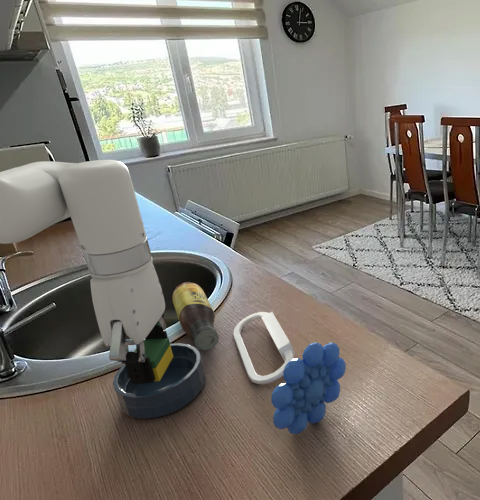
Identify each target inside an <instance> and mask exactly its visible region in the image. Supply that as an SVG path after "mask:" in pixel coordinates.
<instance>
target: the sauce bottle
mask: <svg viewBox="0 0 480 500" xmlns="http://www.w3.org/2000/svg"><path fill="white" fill-rule="evenodd" d="M171 298H172V304H173V307H174V309H175V313H176V316H177V318H178V322H179V324H180V326H181V328H182V330H183V332H184V333H185V334H186V335H187V336H189V337H192V341H193V345H194V347H195V348H196V349H197V350H200V351H203V352H204V351H205V352H206V351H209V350H212V349H214V348H215V347H216V345H218V343H219V333H218V332H217V330H216V328H215V327H214V323H215V319H216V314H215V311H214V309H213V307H212V305H211V303H210V301H209V298H208V297H207V295H206V293H205V292H204V289H203V288H202V287H201V286H200V285H199V284H197V283H195V282H190V281H186V282H183V283H181V284H179V285H177V286H176V287H175V289H174V290H173V293H172V295H171Z"/></svg>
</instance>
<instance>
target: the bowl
mask: <svg viewBox="0 0 480 500" xmlns="http://www.w3.org/2000/svg"><path fill="white" fill-rule="evenodd" d="M170 346H171V350H172V353H173V358H172V360H171V362H170V364H169V365H168V367H167V369H166V371H165V372H164V374H163V376H162V378H161V380H160V381H154V382H153V383H142V384H132V383H131V380H130V377H129V374H128V371H127V368H126V365H125V364H122V365H121V366H120V368H119V369H118V370H117V372H116V373H115V374H114V377H113V380H112V387H113V389H114V391H115V394H116V397H117V399H118V401H119V404H120V408H121V409H122V412H123V413H124V414H126V415H128V416H129V417H132V418H136V419H155V418H156V419H157V418H161V417H165V416H167V415H170V414H173V413H175V412H177V411H179V410H180V409H182V408H184V407H185V406H187V405H188V404H189V403H191V402H192V401H193V400H194V399H195V398H196V397H197V395H198V394H200V392H201V391H202V389H203V388H204V386H205V383H206V380H207V377H206V370H205V367H204V362H203V359H202V355H201V352H200V351H199V349H198V348H197V347H196V346H193V345H192V344H191V345H190V344H188V343H181V342H177V343H170Z"/></svg>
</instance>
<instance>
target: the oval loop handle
mask: <svg viewBox="0 0 480 500" xmlns="http://www.w3.org/2000/svg"><path fill="white" fill-rule="evenodd" d="M259 319H262V322H263V323H264V325H265V327H266V329H267V331H268V333H269V335H270V337H271V338H272V339H271V340H273V343H274V345H275V346H276V349H277V351H278V352H279V354H280V356H281V358H282V359H283V362H284V363H283V364H282V365H281V366H280V367H279V368H278V369H276V370H275V371H274V372H271V373H269V374H267V375H260V374H258V373H257V372H256V369H255V367H254V365H253V362H252V360H251V357H250V354H249V352H248V350H247V347H246V345H245V341H244V340H243V337H242V334H241V332H242V330H243V329H244V328H245V326H246V325H248V324H250V323H251V322H253V321H255V320H256V321H257V320H259ZM232 333H233V334H232V335H233V336H232V337H233V339H234V342H235V345H236V348H237V350H238V353H239V356H240V359H241V361H242V363H243V364H242V365H243V367H244V369H245V372H246V375H247V377H248V379H249V380H250V382H252V383H253V384H257V385H267V384H271V383H273V382H276V381H278V380H279V379H281V378H282V377H283V371H284V368H285V366H286V365H287V363H288V362H289V361H290V360H292V359H295V356H296V355H297V353H296V351H295V349H294V347H293V345H292V343H291V341H290V340H289V338H288V335H287V334H286V333H285V331H284V329H283V328H282V326H281V324H280V323H279V321H278V319H277V318H276V316H275V314H274V312H273V311H269V312H267V311H258V312H254V313H252V314H249V315H247V316H246V317H244V318H242V319H241V320H240V321H239V322H238V323H237V324H236V326H235V327H234V329H233V332H232Z"/></svg>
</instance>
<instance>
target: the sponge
mask: <svg viewBox="0 0 480 500" xmlns="http://www.w3.org/2000/svg"><path fill="white" fill-rule="evenodd" d="M170 344H171V342H170V339H169V337H168V338H163V339H147V340H145V339H144V347H145V357H149V359H150V362H151V366H152V369H153V372H154V376H155V380H154V381H160V380H161V378H162V376H163V374H164V372H165V371H166V369H167V367H168V365H169V364H170V362H171V360H172V358H173V353H172V350H171V346H170ZM133 352H136V353H137V350H136V348H134V350H133Z"/></svg>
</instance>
